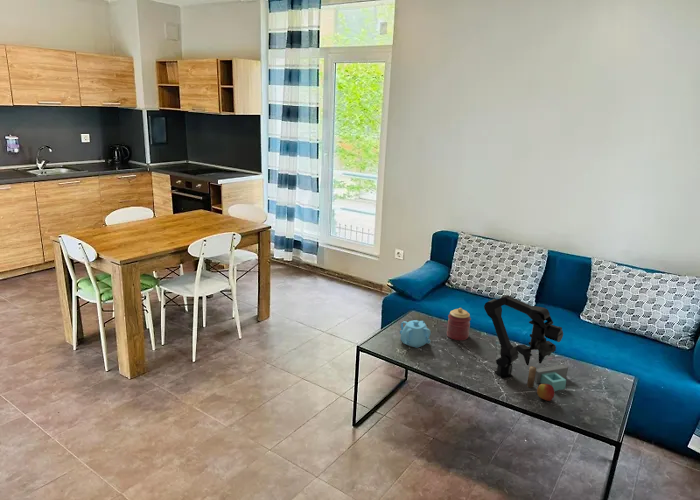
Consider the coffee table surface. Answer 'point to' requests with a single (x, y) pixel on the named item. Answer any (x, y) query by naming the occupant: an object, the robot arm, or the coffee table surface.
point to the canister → (458, 324)
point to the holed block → (553, 380)
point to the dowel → (531, 377)
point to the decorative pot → (415, 333)
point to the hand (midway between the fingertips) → (533, 364)
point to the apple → (545, 392)
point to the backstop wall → (558, 369)
